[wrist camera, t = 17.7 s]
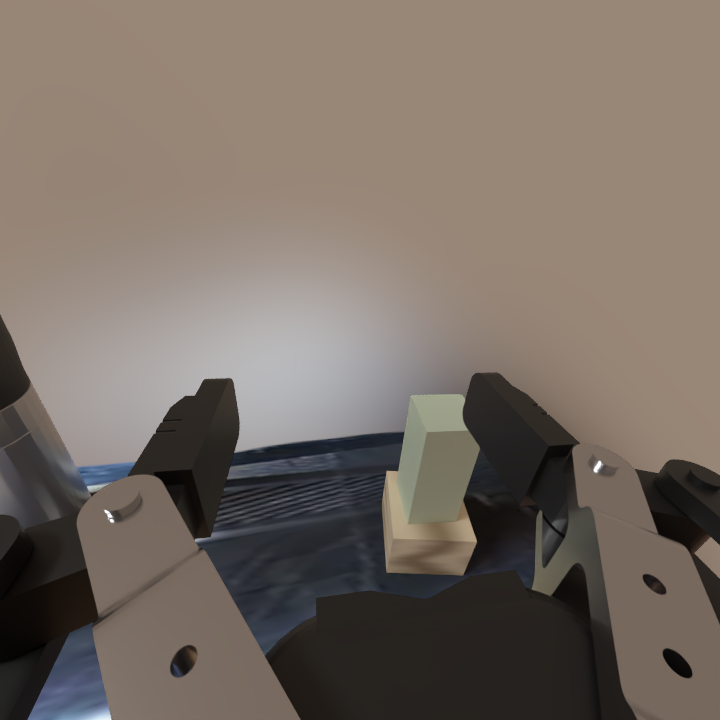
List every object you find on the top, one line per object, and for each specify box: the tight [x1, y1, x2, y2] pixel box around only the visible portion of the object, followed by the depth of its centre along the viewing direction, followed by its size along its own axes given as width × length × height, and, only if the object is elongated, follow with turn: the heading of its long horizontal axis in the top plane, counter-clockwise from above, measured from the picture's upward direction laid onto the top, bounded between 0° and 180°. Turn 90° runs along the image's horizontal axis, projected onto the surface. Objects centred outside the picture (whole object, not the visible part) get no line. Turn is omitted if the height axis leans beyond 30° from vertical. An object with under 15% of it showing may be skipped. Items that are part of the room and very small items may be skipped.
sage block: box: [397, 394, 480, 525], centre depth 30 cm, size 5×5×12 cm
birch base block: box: [382, 471, 477, 575], centre depth 34 cm, size 8×8×6 cm
